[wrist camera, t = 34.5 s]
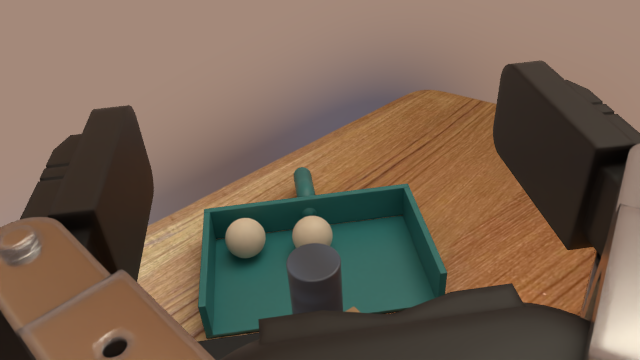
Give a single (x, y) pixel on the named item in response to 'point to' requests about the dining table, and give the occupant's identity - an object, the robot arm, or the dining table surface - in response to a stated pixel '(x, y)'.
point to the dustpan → (348, 240)
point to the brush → (315, 279)
